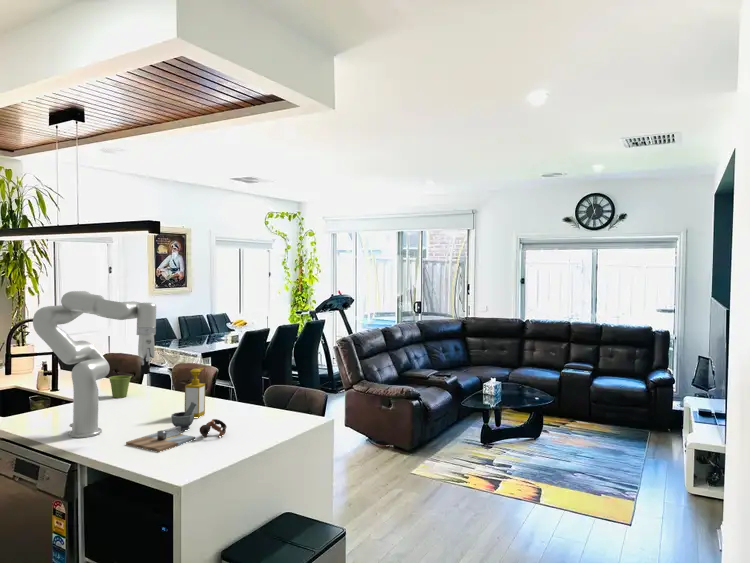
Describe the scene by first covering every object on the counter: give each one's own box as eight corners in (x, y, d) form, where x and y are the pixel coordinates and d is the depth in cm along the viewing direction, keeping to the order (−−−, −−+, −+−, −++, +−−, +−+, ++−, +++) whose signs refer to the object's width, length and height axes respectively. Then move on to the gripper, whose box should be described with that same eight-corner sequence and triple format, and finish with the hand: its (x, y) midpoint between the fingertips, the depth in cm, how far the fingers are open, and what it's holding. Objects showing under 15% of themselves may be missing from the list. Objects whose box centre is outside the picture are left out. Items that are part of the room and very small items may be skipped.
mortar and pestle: (175, 433, 232) (175, 406, 232) (167, 429, 239) (168, 402, 239) (200, 429, 239) (200, 403, 239) (192, 425, 246) (192, 399, 246)
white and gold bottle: (209, 412, 271) (210, 366, 271) (198, 418, 258) (199, 370, 258) (195, 411, 271) (196, 365, 271) (184, 417, 259) (185, 369, 259)
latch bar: (160, 440, 217) (160, 432, 217) (155, 438, 219) (155, 431, 219) (181, 434, 226) (182, 427, 226) (176, 432, 228) (177, 425, 228)
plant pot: (135, 396, 303) (135, 376, 303) (116, 400, 293) (116, 379, 293) (123, 393, 310) (123, 374, 310) (103, 397, 300) (104, 377, 300)
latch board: (125, 444, 215) (125, 441, 215) (163, 433, 232) (163, 430, 232) (159, 452, 207) (159, 449, 207) (195, 439, 224) (195, 436, 224)
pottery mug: (210, 433, 236) (220, 417, 236) (222, 446, 231) (232, 430, 231) (190, 432, 226) (200, 416, 225) (202, 446, 221) (212, 429, 220)
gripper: (159, 332, 224) (158, 376, 224) (151, 329, 236) (149, 370, 236) (140, 333, 219) (139, 377, 219) (133, 330, 231) (131, 371, 231)
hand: (144, 373), depth 228 cm, fingers closed
